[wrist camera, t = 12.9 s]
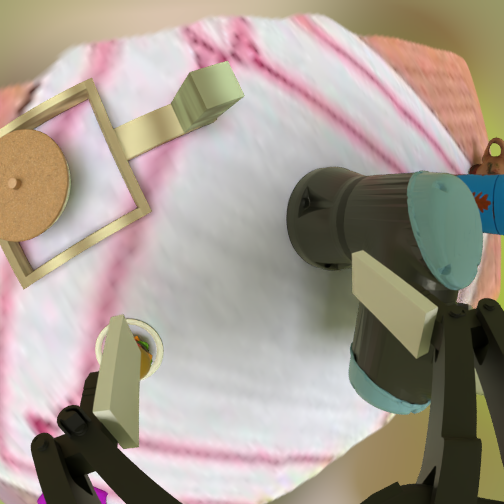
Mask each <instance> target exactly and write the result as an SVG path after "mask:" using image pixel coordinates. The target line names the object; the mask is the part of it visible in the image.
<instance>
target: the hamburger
mask: <svg viewBox="0 0 504 504" xmlns="http://www.w3.org/2000/svg"><path fill="white" fill-rule="evenodd" d="M126 321H127V323H128V324H130V325H136V326H139V327H141V328H143V329H145V330H146V331H148V332H149V333H150V334H151V335H152V337H153V339H154V340H155V343H156V347H157V355H156V358H155V361H154V363H153V364H152V365H151V363H152V362H153V361H152V355H151V354H149V350H148V346H149V345H148V344H147V343H146V342H143V341H141V340H140V339H139V338H138V336H136V337H134V339H135V341H136V343H137V345H138V347H139V349H140V351H141V363H140V380H143V379H146V378H148V377H149V376H151V375H152V374H153V373H154V372H155V371H156V370H157V369H158V368H159V366H160V364H161V362H162V358H163V344H162V342H161V339H160V337H159V335H158V334H157V332H156V331H155V330H154V329H153V328H152V327H150V326H149V325H148V324H146V323H144V322H141V321H138V320H134V319H126ZM108 327H109V325H107V326H106V327H105V328H104V329H103V330H102V331H101V333H100V334H99V336H98V338H97V341H96V345H95V353H96V358H97V360H98V363H99V365H101V360H102V342H103V339H104V337H105V336H106V334H107V332H108Z"/></svg>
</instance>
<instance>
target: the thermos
mask: <svg viewBox="0 0 504 504" xmlns="http://www.w3.org/2000/svg"><path fill="white" fill-rule="evenodd" d="M455 176H457V177H458V178H460V179H461V180H462V181H463V182H464V183H465V184H466V185H467V186H468V188H469V189H470V191H471V192H472V194H473V196H474V199H475V202H476V204H477V206H478V209H479V213H480V218H481V223H482V233H490V234H498V235H504V174H459V175H455Z"/></svg>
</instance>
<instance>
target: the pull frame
mask: <svg viewBox="0 0 504 504" xmlns="http://www.w3.org/2000/svg"><path fill="white" fill-rule="evenodd" d="M243 97H244V93H243V91H242V89H241V87H240V85H239V83H238V81H237V79H236V77H235V75H234V73H233V71H232V69H231V67H230V64H229V62H228V61H226V62H222V63H219V64H215V65H212V66H208V67H205V68H202V69H199V70H195V71H192V72H190V73H189V74H188V76H187V78H186V79H185V81H184V82H183V84H182V86H181V87H180V89H179V91H178V92H177V94H176V96H175V97H174V99H173V101H172V102H171V104H169V105H167V106H164V107H162V108H159V109H157V110H154V111H152V112H150V113H147V114H145V115H143V116H141V117H138V118H136V119H134V120H132V121H130V122H127V123H125V124H123V125H121V126H119V127H117V128H115V129H113V127H112V125H111V123H110V120H109V118H108V116H107V113H106V111H105V109H104V106H103V104H102V101H101V99H100V97H99V94H98V92H97V89H96V87H95V84H94V82H93V79H92V78H90V79H88V80H86V81H84V82H81V83H79V84H77V85H75V86H73V87H71V88H69V89H67V90H65V91H63V92H62V93H60V94H58V95H56V96H54V97H52V98H50V99H49V100H47V101H45V102H43V103H41V104H40V105H38V106H36V107H35V108H33V109H31V110H30V111H28V112H26V113H25V114H23V115H21V116H20V117H18V118H17V119H15V120H14V121H12V122H10V123H9V124H7V125H6V126H4V127H3V128H2V129H0V138H1V137H2V136H4V135H6V134H8V133H10V132H13V131H16V130H21V129H34V128H36V127H37V126H39V125H41V124H42V123H44V122H46V121H47V120H49V119H51V118H53V117H54V116H56V115H58V114H60V113H62V112H64V111H65V110H67V109H69V108H71V107H73V106H75V105H77V104H79V103H81V102H83V101H85V100H87V99H89V101H90V104H91V106H92V109H93V111H94V114H95V116H96V118H97V121H98V123H99V126H100V128H101V130H102V133H103V135H104V137H105V140H106V142H107V144H108V146H109V149H110V151H111V153H112V155H113V158H114V160H115V162H116V164H117V166H118V168H119V171H120V173H121V175H122V177H123V179H124V181H125V183H126V185H127V188H128V190H129V192H130V194H131V196H132V198H133V200H134V202H135V204H136V206H137V208H136V209H135V210H133V211H131V212H129V213H127V214H126V215H124V216H122V217H120V218H118V219H117V220H115V221H113V222H111V223H110V224H108V225H106V226H105V227H103V228H101V229H99V230H98V231H96V232H94V233H93V234H91V235H89V236H88V237H86V238H84V239H83V240H81V241H79V242H78V243H76V244H75V245H73V246H71V247H70V248H68V249H66V250H65V251H63V252H62V253H60V254H59V255H57V256H55V257H54V258H52V259H51V260H49V261H48V262H46V263H45V264H43V265H42V266H40V267H39V268H37V269H36V270H34V271H33V270H32V268H31V266H30V264H29V262H28V260H27V258H26V257H25V255H24V253H23V251H22V249H21V247H20V245H19V243H18V242H12V241H6V240H3V239H0V245H1V247H2V249H3V251H4V253H5V255H6V257H7V259H8V261H9V263H10V265H11V267H12V269H13V271H14V273H15V275H16V277H17V278H18V280H19V282H20V284H21V286H22V287H23V289H25V288H27V287H28V286H30V285H31V284H33V283H34V282H36V281H37V280H39V279H40V278H42V277H43V276H45V275H46V274H48V273H49V272H51V271H52V270H54V269H56V268H57V267H59V266H60V265H62V264H63V263H65V262H67V261H68V260H70V259H71V258H73V257H75V256H76V255H78V254H79V253H81V252H83V251H84V250H86V249H88V248H89V247H91V246H93V245H94V244H96V243H98V242H99V241H101V240H103V239H104V238H106V237H108V236H109V235H111V234H113V233H115V232H116V231H118V230H120V229H122V228H123V227H125V226H127V225H129V224H130V223H132V222H134V221H136V220H138V219H139V218H141V217H143V216H145V215H147V214H148V213H150V212H152V211H151V209H150V207H149V205H148V203H147V201H146V199H145V197H144V195H143V193H142V191H141V188H140V186H139V184H138V182H137V180H136V178H135V176H134V174H133V172H132V169H131V167H130V165H129V163H128V161H129V160H131V159H133V158H135V157H137V156H139V155H141V154H143V153H145V152H147V151H149V150H151V149H153V148H155V147H158V146H160V145H162V144H164V143H166V142H168V141H171V140H173V139H175V138H177V137H180V136H182V135H184V134H186V133H189V132H191V131H193V130H196V129H198V128H201V127H203V126H206V125H208V124H210V123H213V122H214V121H216V120H217V118H218V117H219V116H220V115H221V114H222V113H224V112H225V111H226V110H227V109H229V108H230V107H231V106H232V105H234V104H235V103H236V102H238V101H239V100H240V99H241V98H243Z"/></svg>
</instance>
